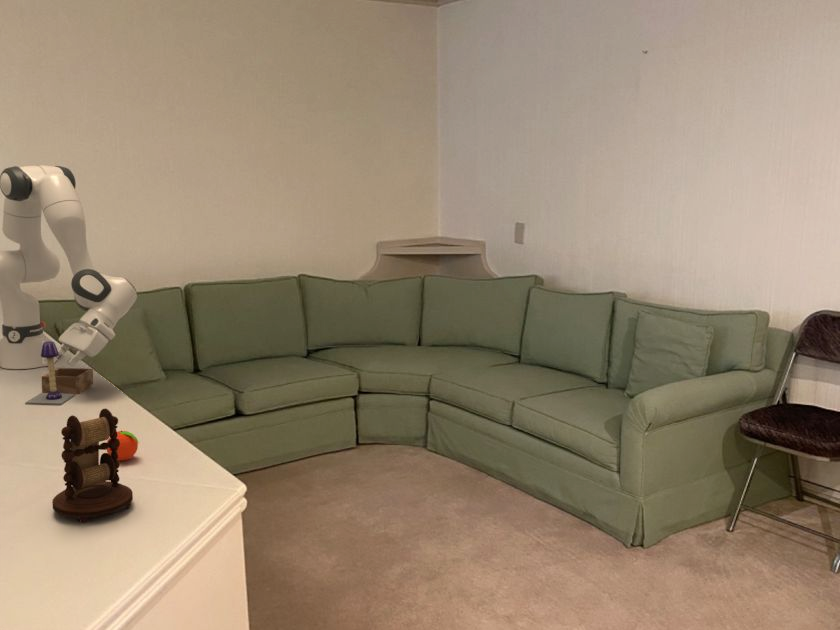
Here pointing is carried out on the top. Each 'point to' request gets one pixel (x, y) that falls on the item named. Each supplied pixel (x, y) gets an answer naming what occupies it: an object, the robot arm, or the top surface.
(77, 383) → the walnut crate
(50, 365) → the toy lamp
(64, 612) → the top surface
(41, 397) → the slate mat
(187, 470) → the top surface
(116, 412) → the top surface
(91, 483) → the brown wooden spool rack
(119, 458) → the clementine
